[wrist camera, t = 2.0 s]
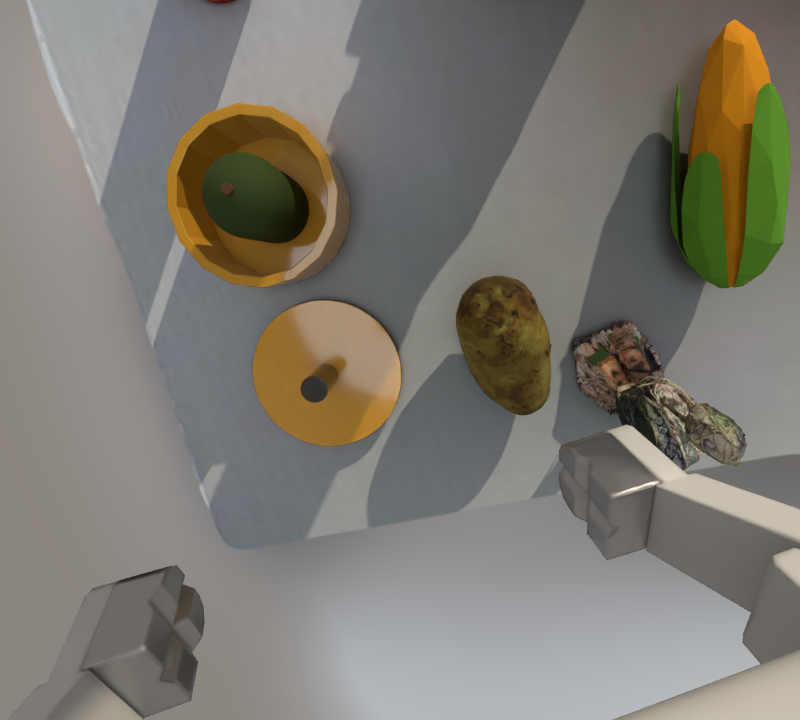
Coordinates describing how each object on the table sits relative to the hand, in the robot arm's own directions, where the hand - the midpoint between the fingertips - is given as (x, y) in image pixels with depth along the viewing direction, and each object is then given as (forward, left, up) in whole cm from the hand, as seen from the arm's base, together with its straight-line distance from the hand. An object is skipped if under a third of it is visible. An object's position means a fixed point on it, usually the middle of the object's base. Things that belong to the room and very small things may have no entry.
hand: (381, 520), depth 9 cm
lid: (+6, -8, -33) cm, 35 cm away
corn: (-16, +23, -34) cm, 44 cm away
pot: (-9, -14, -34) cm, 38 cm away
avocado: (-9, -14, -34) cm, 37 cm away
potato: (+1, +8, -34) cm, 35 cm away
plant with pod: (+3, +20, -34) cm, 40 cm away
